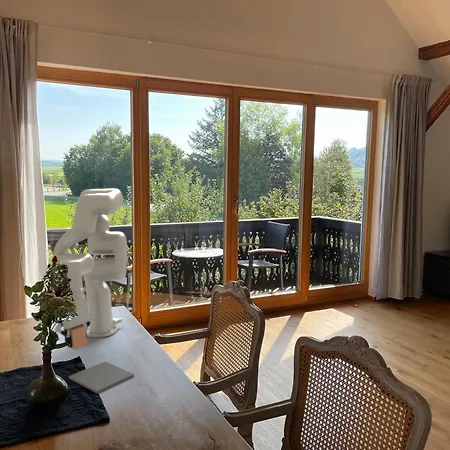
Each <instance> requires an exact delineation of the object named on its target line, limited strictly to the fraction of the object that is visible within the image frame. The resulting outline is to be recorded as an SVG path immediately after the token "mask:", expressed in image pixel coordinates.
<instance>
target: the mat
mask: <svg viewBox="0 0 450 450" xmlns="http://www.w3.org/2000/svg"><path fill="white" fill-rule="evenodd" d="M134 375H135V374H134V373H133V372H130V371H128V370H126V369H124V368H122V367H119V366H117V365H114V364H112V363H110V362H107V361H103V362H100V363H98V364H95V365H93V366H90V367H88V368H86V369H84V370H81V371H78V372H75V373H74V374H73V373H72V374H71V375H68V379H69V380H71V381H73V382H74V383H76V384H78V385H80V386H82V387H84V388H86V389H88V390H90V391H92V392H93V393H95V394H99V393H101V392H104V391H106V390H108V389H110V388H112V387H114V386H116V385H118V384H121V383H123V382H125V381H127V380H129V379H131V378H134V377H135V376H134Z"/></svg>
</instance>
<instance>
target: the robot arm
mask: <svg viewBox="0 0 450 450" xmlns="http://www.w3.org/2000/svg"><path fill="white" fill-rule="evenodd" d="M123 198H124V197H123V193H122V191H121V190H120V189H118V188H94V189H93V188H91V189H85V190H82V192H80V194H79V197H78V198H77V201H76V204H75V210H74V214H73V219H72V224H71V225H72V226H71V227H70V228H69V229H68V230H67V231H66V232H64V234H63V235H62V236H61V237H60V238H59V239H58V240H57V242H56V244H55V246H54V250H53V254H52V258H53V257H54V256H56V257H57V259H58V261H59V262H61V263H63V264H65V265H67V267H68V273H67V277H68V278H70V279H71V282H70V288H71V290H72V292H73V295H72V297H73V300H74V301H75V303H76V305H77V311H78V316H77V317H75V318H74V319H73V320H69V321H67V320H65V319H64V322H63V323H58V322H57V325H56V326H55V328H54V332H56V333H58V334H60V335H62V336H64V344H65V343H71V344H70V345H68V348H69V347H70V349H71V348H72V337H71V336H70V333H71V328H73V327H76V326H79V325H84V326H85V327H86V338H87V339H88V338H95V339H97V338H106V337H110V336H113V335H114V334H115V333H117V330H118V328H117V324H120V323H122V322H123V318H121V317H119V318H113V312H112V311H113V310H112V309H113V307H112V296H111V294H112V293H111V288H110V287H109V285H108V284H107V283H106V282H116V281H117V282H118V281H123V280H124V279H125V278H126V276H127V265H128V263H127V262H128V242H127V237H126V234H125V233H123V232H122V231H110V219H109V218H108V216H111V215H114V214H115V213H116V212H117V211H118V210H120V208H121V207H122V205H123V200H124V199H123ZM86 239H87V250H88V253H86V252H83V253H80V252H79V253H78V252H77V253H73V252H71V253H67V251H68V250H69V249H70V248H71V247H72V246H73V245H75V244H78V243H79V242H81V241H84V240H86ZM92 255H95V256H102V255H103V256H107V255H109V256H112V255H114V257H94V256H92ZM83 279H84V284H85V287H84V286H83ZM84 292H86V295H85V293H84ZM62 327H63V330H62Z"/></svg>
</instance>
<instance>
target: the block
mask: <svg viewBox="0 0 450 450" xmlns="http://www.w3.org/2000/svg"><path fill="white" fill-rule="evenodd" d="M70 336H71V337H72V348H70V347H68V346H66V347H68V348H70V349H72V350H74V351H75V350H78V349H80V348H83V347H85V346H87V345H88V337H87V338H86V327H85V326H84V325H79V326H76V327H73V328H71V333H70Z"/></svg>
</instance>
